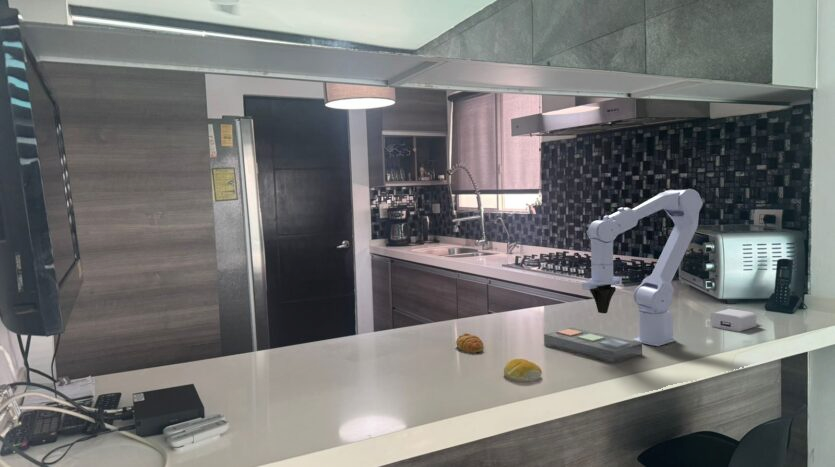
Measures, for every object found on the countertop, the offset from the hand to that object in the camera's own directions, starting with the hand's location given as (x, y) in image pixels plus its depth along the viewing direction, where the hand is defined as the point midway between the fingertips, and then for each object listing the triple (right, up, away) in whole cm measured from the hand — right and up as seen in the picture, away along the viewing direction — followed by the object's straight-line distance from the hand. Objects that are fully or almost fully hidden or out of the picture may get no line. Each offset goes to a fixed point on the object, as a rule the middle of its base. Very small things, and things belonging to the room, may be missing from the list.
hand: (602, 312), depth 153 cm
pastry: (-36, -11, +3) cm, 38 cm away
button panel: (-4, -10, -2) cm, 11 cm away
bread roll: (-26, -12, -22) cm, 37 cm away
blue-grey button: (0, -10, -8) cm, 13 cm away
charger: (+48, -7, +19) cm, 52 cm away
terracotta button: (-8, -9, +4) cm, 13 cm away
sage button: (-4, -9, -2) cm, 10 cm away
